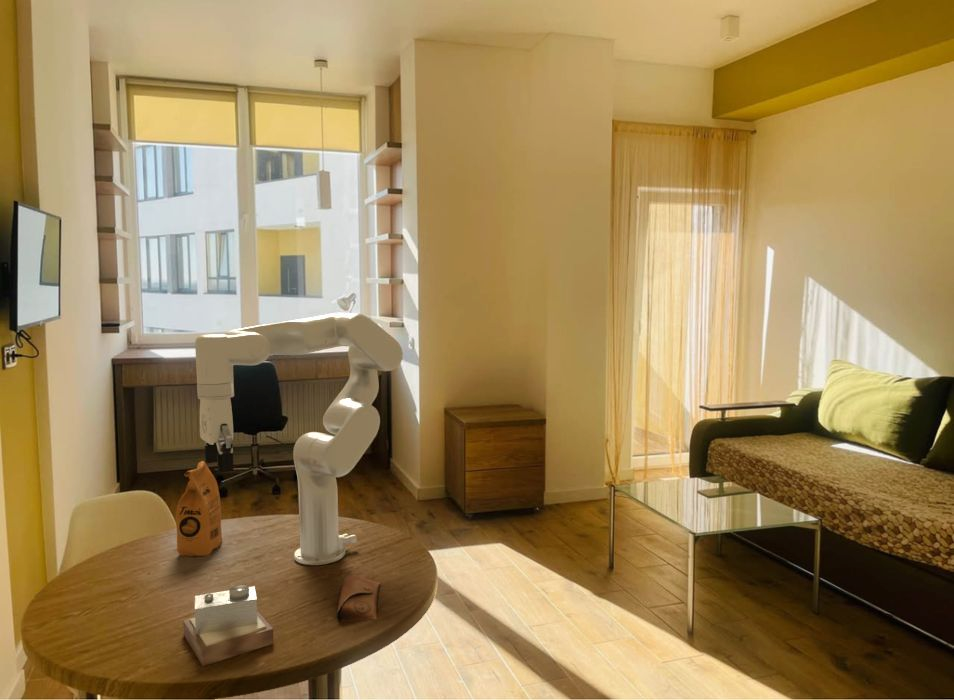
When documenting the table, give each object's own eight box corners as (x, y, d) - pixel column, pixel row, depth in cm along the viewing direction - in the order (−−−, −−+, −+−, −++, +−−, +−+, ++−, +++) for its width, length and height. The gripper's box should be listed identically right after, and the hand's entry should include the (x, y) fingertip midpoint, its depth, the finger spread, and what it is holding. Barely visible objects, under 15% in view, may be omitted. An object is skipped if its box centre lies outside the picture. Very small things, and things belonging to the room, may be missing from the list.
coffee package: (170, 557, 174) (165, 472, 172) (191, 539, 186) (187, 460, 184) (209, 557, 173) (205, 472, 171) (228, 539, 186) (224, 460, 184)
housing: (196, 620, 134) (194, 589, 133) (255, 610, 138) (254, 580, 137) (195, 634, 128) (194, 603, 128) (257, 623, 132) (256, 592, 132)
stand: (249, 615, 143) (249, 599, 142) (273, 643, 131) (272, 626, 131) (183, 634, 135) (182, 618, 135) (202, 666, 124) (201, 648, 123)
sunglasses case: (379, 619, 141) (361, 593, 140) (349, 638, 140) (332, 612, 139) (381, 581, 158) (365, 558, 157) (355, 598, 158) (339, 575, 157)
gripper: (187, 387, 156) (191, 461, 157) (208, 397, 142) (212, 478, 143) (221, 384, 160) (225, 456, 162) (245, 393, 146) (248, 472, 148)
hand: (219, 466), depth 153 cm, fingers open, 9 cm apart
